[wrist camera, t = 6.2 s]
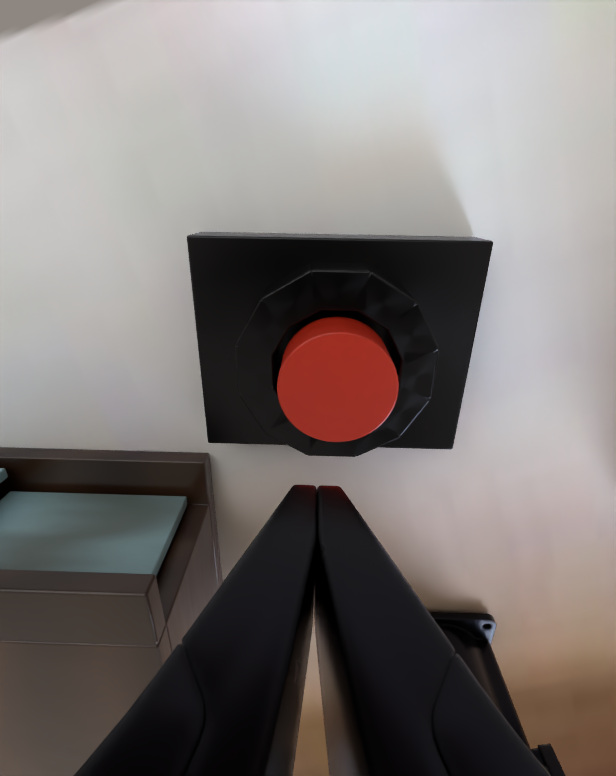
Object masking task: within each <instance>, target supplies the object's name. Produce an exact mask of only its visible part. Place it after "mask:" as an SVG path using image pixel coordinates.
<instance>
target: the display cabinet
mask: <svg viewBox="0 0 616 776" xmlns="http://www.w3.org/2000/svg"><path fill="white" fill-rule="evenodd" d="M0 468H5V469H6V472H7V475H8V477H7V478H6V479H5V480H4V481H3V482H1V483H0V776H73V775H74V774H75V773H76V772H77V771H78V770H79V769H80V767H81V766H82V765H83V764H84V763H85V762H86V760H87V759H88V758H89V757H90V756H91V754H92V753H93V752H94V751H95V750H96V748H97V747H98V746H99V745H100V744H101V743H102V741H103V740H104V739H105V738H106V737H107V735H108V734H109V733H110V732H111V731H112V729H113V728H114V727H115V726H116V725H117V724H118V722H119V721H120V720H121V719H122V718H123V716H124V715H125V714H126V713H127V711H128V710H129V709H130V707H131V706H132V705H133V703H134V702H135V701H136V700H137V698H138V697H139V696H140V694H141V693H142V692H143V690H144V689H145V688H146V687H147V685H148V684H149V683H150V681H151V680H152V679H153V677H154V676H155V675H156V673H157V672H158V671H159V669H160V668H161V667H162V665H163V664H164V663H165V661H166V660H167V658H168V657H169V656H170V654H171V653H172V651H173V650H174V649H175V647H176V646H177V645H178V644H182V638H183V637H184V635H185V634H186V633H187V631H188V630H189V628H190V627H191V626H192V624H193V623H194V622H195V620H196V619H197V617H198V616H199V615H200V613H201V612H202V611H203V609H204V608H205V606H206V605H207V604H208V602H209V601H210V599H211V598H212V597H213V595H214V594H215V593H216V591H217V590H218V588H219V587H220V586H221V584H222V574H221V565H220V555H219V546H218V536H217V526H216V517H215V507H214V497H213V489H212V479H211V470H210V460H209V454H208V453H184V452H148V451H111V450H75V449H38V448H2V447H0Z"/></svg>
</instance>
